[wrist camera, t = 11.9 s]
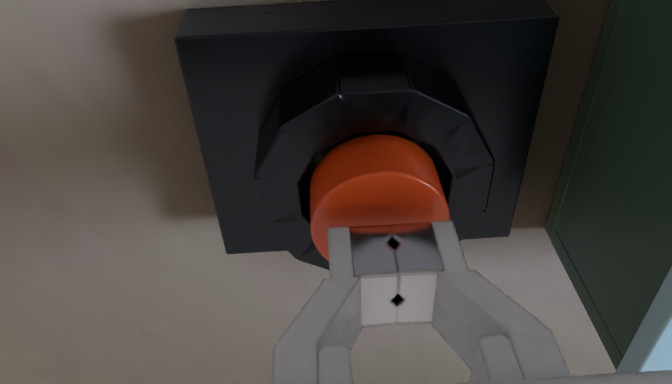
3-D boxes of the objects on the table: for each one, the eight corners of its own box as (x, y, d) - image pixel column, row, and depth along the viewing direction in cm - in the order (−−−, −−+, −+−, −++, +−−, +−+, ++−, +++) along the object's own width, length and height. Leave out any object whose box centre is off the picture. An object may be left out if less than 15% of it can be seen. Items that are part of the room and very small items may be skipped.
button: (442, 128, 14) (457, 168, 13) (432, 228, 16) (444, 272, 15) (304, 136, 14) (305, 178, 13) (313, 236, 16) (315, 280, 15)
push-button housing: (534, -12, 15) (592, 48, 12) (493, 200, 21) (527, 280, 17) (186, 8, 15) (156, 74, 12) (232, 216, 20) (219, 299, 17)
